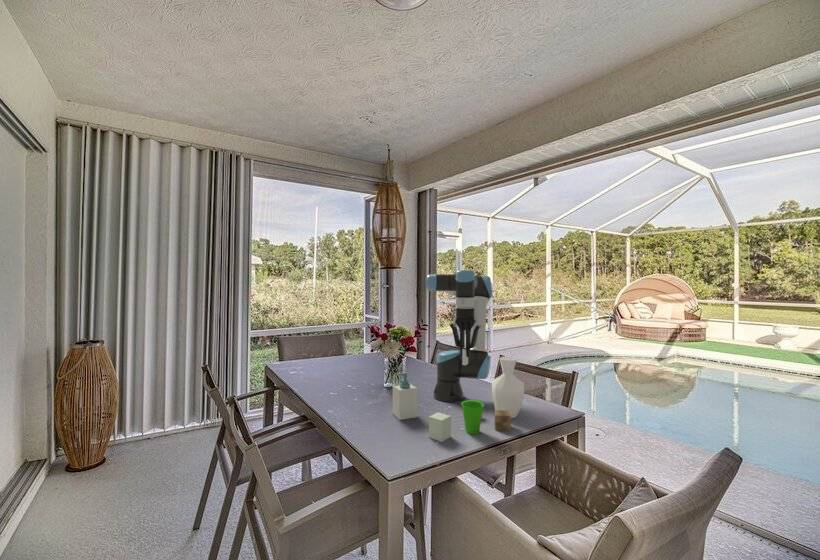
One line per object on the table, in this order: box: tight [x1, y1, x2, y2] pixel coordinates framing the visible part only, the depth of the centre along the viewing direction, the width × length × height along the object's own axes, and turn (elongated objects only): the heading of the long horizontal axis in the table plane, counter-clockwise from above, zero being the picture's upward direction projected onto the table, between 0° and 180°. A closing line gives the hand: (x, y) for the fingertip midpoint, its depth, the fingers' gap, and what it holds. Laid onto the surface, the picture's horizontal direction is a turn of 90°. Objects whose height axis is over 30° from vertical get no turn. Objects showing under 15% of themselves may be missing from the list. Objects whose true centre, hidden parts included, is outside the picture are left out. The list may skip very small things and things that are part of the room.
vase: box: [491, 356, 525, 419], centre depth 163 cm, size 14×14×25 cm
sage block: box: [428, 412, 452, 443], centre depth 140 cm, size 6×6×8 cm
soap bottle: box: [392, 371, 419, 421], centre depth 162 cm, size 9×9×19 cm
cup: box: [460, 399, 485, 435], centre depth 145 cm, size 9×9×11 cm
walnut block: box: [494, 409, 512, 432], centre depth 149 cm, size 6×6×6 cm
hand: (465, 364), depth 152 cm, fingers closed
